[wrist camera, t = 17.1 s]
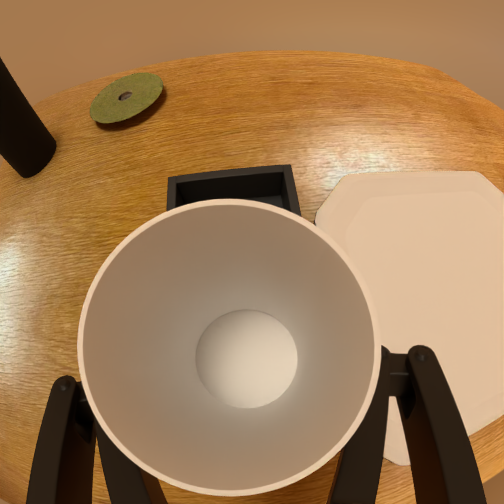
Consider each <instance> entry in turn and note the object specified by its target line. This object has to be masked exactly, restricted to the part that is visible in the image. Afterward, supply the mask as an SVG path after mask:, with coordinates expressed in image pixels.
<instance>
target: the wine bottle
mask: <svg viewBox="0 0 504 504" xmlns="http://www.w3.org/2000/svg"><path fill="white" fill-rule="evenodd" d="M55 150H56V141H55V140H54V138H53V137H52V135H51V134H50V133H49V131H48V130H47V128H46V127H45V126H44V124H43V123H42V121H41V120H40V118H39V117H38V116H37V114H36V113H35V111H34V110H33V108H32V107H31V105H30V104H29V103H28V101H27V99H26V98H25V96H24V95H23V93H22V92H21V90H20V89H19V87H18V86H17V84H16V82H15V81H14V79H13V77H12V76H11V74H10V73H9V71H8V69H7V68H6V66H5V64H4V63H3V61H2V59H1V58H0V154H1V155H2V156H3V158H4V159H5V160H6V161H7V162H8V163H9V164H10V165H11V166H12V167H13V168H14V169H15V170H16V171H17V172H18V173H19V175H20V176H22V177H23V178H29V177H32V176H34V175H36V174H37V173H39V172H40V171H41V170H42V169H43V168H44V167H45V166H46V165H47V164H48V163H49V161H50V160H51V158H52V157H53V155H54V153H55Z"/></svg>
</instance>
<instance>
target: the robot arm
mask: <svg viewBox="0 0 504 504" xmlns="http://www.w3.org/2000/svg"><path fill="white" fill-rule="evenodd" d="M389 396H395V397H396V401H397V405H398V409H399V413H400V417H401V422H402V426H403V430H404V435H405V440H406V445H407V449H408V455H409V460H410V465H411V471H412V477H413V483H414V489H415V496H416V503H417V504H487V503H486V498H485V494H484V490H483V486H482V482H481V478H480V474H479V470H478V467H477V463H476V460H475V457H474V453H473V450H472V447H471V444H470V441H469V438H468V435H467V432H466V429H465V426H464V423H463V420H462V418H461V415H460V412H459V410H458V407H457V404H456V402H455V399H454V397H453V394H452V392H451V389H450V387H449V385H448V382H447V380H446V377H445V375H444V373H443V370H442V368H441V366H440V364H439V361H438V359H437V357H436V355H435V353H434V351H433V350H432V349H431V348H429V347H428V346H424V345H415V346H413V347H411V348H410V349H409V351H408V354H398V353H390V351H389V350H388V349H387V348H386V347H384V346H383V345H381V363H380V371H379V377H378V381H377V385H376V389H375V392H374V395H373V398H372V401H371V404H370V406H369V408H368V410H367V412H366V414H365V416H364V418H363V420H362V422H361V423H360V425H359V427H358V428H357V430H356V431H355V433H354V434H353V435H352V437H351V438H350V439H349V441H348V442H347V443H346V444H345V445H344V446H343V448H342V449H341V452H340V456H339V460H338V464H337V468H336V472H335V475H334V479H333V482H332V486H331V489H330V493H329V496H328V499H327V502H326V504H375V500H376V495H377V490H378V484H379V479H380V473H381V467H382V460H383V454H384V446H385V438H386V429H387V419H388V407H389ZM96 435H97V441H98V447H99V452H100V457H101V462H102V467H103V472H104V476H105V480H106V485H107V489H108V492H109V496H110V500H111V504H168V503H167V501H166V498H165V496H164V493H163V491H162V489H161V486H160V483H159V481H158V478H156V477H155V476H153V475H151V474H150V473H148V472H147V471H145V470H143V469H142V468H141V467H139V466H138V465H137V464H135V463H134V462H133V461H131V460H130V459H129V458H128V457H127V456H126V455H125V454H124V453H123V452H122V451H121V450H120V449H119V448H118V447H117V446H116V445H115V444H114V443H113V442H112V440H111V439H110V438H109V437H108V435H107V434H106V433H105V431H104V430H103V428H102V427H101V425H100V424H99V422H98V420H97V419H96V417H95V415H94V413H93V411H92V409H91V407H90V404H89V402H88V400H87V397H86V394H85V391H84V388H83V385H82V381H80V382H76V380H75V379H74V377H72V376H68V375H66V376H62V377H60V378H58V379H57V380H56V381H55V382H54V384H53V386H52V389H51V392H50V396H49V399H48V402H47V406H46V409H45V413H44V416H43V420H42V424H41V428H40V432H39V436H38V440H37V444H36V449H35V453H34V458H33V463H32V468H31V474H30V480H29V486H28V493H27V500H26V504H92V484H93V467H94V455H95V444H96Z"/></svg>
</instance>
